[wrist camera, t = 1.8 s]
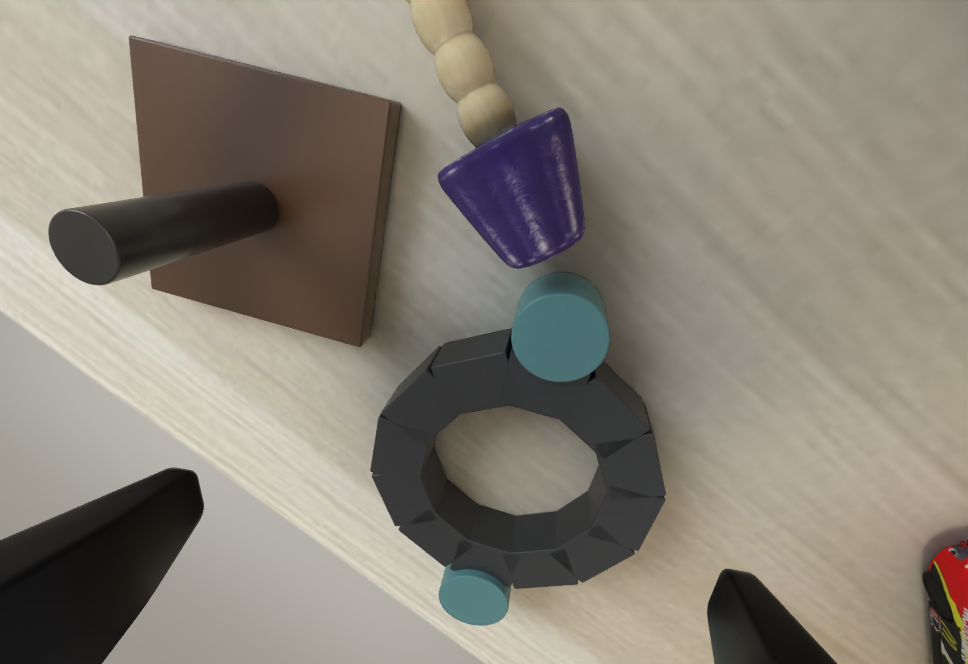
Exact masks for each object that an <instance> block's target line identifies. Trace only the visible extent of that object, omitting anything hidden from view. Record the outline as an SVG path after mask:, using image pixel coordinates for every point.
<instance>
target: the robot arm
mask: <svg viewBox="0 0 968 664" xmlns="http://www.w3.org/2000/svg"><path fill="white" fill-rule="evenodd" d="M203 510H204V502H203V498H202V493H201V489H200V485H199V480H198V476H197V474H196V473H195V472H194V471H191V470H186V469H181V468H168V469H165V470H163V471H161V472H159V473H156V474H154V475H151V476H149V477H147V478H144V479H142V480H140V481H138V482H135V483H133V484H131V485H128V486H126V487H123V488H121V489H119V490H116V491H114V492H112V493H109V494H107V495H105V496H102V497H100V498H98V499H95V500H93V501H91V502H88V503H86V504H84V505H81V506H79V507H77V508H74V509H72V510H70V511H68V512H65V513H63V514H60V515H58V516H56V517H54V518H51V519H49V520H46V521H44V522H42V523H40V524H37V525H35V526H33V527H30V528H28V529H26V530H23V531H21V532H18V533H16V534H14V535H11V536H9V537H7V538H4V539H2V540H0V664H102V663H103V661H104V660H105V659H106V657H107V656H108V655H109V653H110V652H111V651H112V649H113V648H114V647H115V645H116V644H117V643H118V641H119V640H120V639H121V638H122V636H123V635H124V634H125V632H126V631H127V629H128V628H129V627H130V626H131V624H132V623H133V622H134V620H135V619H136V618H137V616H138V615H139V613H140V612H141V611H142V609H143V608H144V607H145V605H146V604H147V602H148V601H149V599H150V597H151V596H152V595H153V593H154V592H155V590H156V589H157V587H158V586H159V584H160V582H161V581H162V579H163V578H164V576H165V575H166V573H167V571H168V570H169V568H170V566H171V565H172V563H173V562H174V560H175V559H176V557H177V556H178V554H179V552H180V551H181V549H182V547H183V546H184V544H185V543H186V541H187V540H188V538H189V536H190V535H191V533H192V532H193V530H194V528H195V527H196V525H197V524H198V522H199V521H200V519H201V516H202V514H203ZM707 617H708V624H709V631H710V637H711V644H712V650H713V657H714V663H715V664H837V663H836V662H835V661H834V660H833V659H832V657H831V656H830V655H829V654H828V653H827V652H826V651H825V650H824V649H823V648H822V647H821V646H820V645H819V644H818V642H817V641H816V640H815V639H814V638H813V637H812V636H811V635H810V634H809V633H808V632H807V631H806V630H805V629H804V627H803V626H802V625H801V624H800V623H799V622H798V621H797V620H796V619H795V618H794V617H793V616H792V615H791V614H790V612H789V611H788V610H787V609H786V608H785V607H784V606H783V605H782V604H781V603H780V602H779V601H778V600H777V599H776V597H775V596H774V595H773V594H772V593H771V592H770V591H769V590H768V589H767V588H766V587H765V586H764V585H763V583H762V582H761V581H760V580H759V579H758V578H757V577H756V576H754V575H753V574H751V573H749V572H744V571H738V570H733V569H724V570H723V571H722V572H721V573H720V575H719V578H718V580H717V583H716V585H715V588H714V590H713V592H712V595H711V597H710V600H709V603H708V609H707Z"/></svg>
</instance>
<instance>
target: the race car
mask: <svg viewBox="0 0 968 664" xmlns="http://www.w3.org/2000/svg"><path fill="white" fill-rule="evenodd" d="M928 570H929V571H927V572H924V573H923V582H924V585H925V588H926V590H927V592H928V595H929V597H930V598H931V600H932V601H930V602H929V609H930V621H931V634H932V647H933V659H934V664H968V540H967V543H966V542H965V541H963V540H962V541H960V544H959V545H957V546H956V545H953V546H950V547H947V548H945V549H943V550H942V551H941V552H939V553H938V554H937V555H936V556H935V557H934V559H933V560H932V561H931V564H930V566H929V568H928Z"/></svg>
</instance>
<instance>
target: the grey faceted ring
mask: <svg viewBox="0 0 968 664" xmlns="http://www.w3.org/2000/svg"><path fill="white" fill-rule="evenodd" d="M609 344H610V331H609V326H608V321H607V317H606V313H605V308H604V304H603V301H602V298H601V296H600V294H599V292H598V291H597V289H596V288H595V287H594V286H593V285H592V284H591V283H590V282H589V281H587V280H586V279H584V278H582V277H580V276H578V275H575V274H571V273H564V272H558V273H551V274H547V275H544V276H542V277H540V278H538V279H537V280H535V281H534V282H532V283H531V284H530V285H529V286H528V287H527V288H526V290H525V291H524V292H523V294H522V296H521V298H520V301H519V305H518V308H517V312H516V316H515V320H514V323H513V328H512V329H507V330H502V331H498V332H493V333H489V334H484V335H480V336H475V337H471V338H466V339H462V340H457V341H453V342H448V343H445V344H444V345H443V347H441V346H439V347H438V348H437V349H436V350H435V351H434V352H433V353H432V354H431V355H430V356H429V357H428V358H427V359H426V360H425V361H424V362H423V363H421V364H420V365H419V366H418V367H417V368H416V369H415V370H414V371H413V372H412V373H411V374H410V375H409V376H408V377H407V378H406V379H405V380H404V381H403V382H402V383H401V384H400V385H399V386H398V387H397V389H396V391H395V392H394V394H393V395H392V397H391V398H390V400H389V401H388V403H387V404H386V406H385V407H384V409H383V410H382V412H381V414H380V416H379V418H378V424H377V431H376V437H375V444H374V450H373V457H372V463H371V470H370V471H371V472H373V474H372V478H373V480H374V482H375V484H376V487H377V489H378V491H379V493H380V495H381V497H382V499H383V501H384V503H385V506H386V508H387V510H388V512H389V514H390V516H391V518H392V520H393V522H394V525H395V526H400V527H399V531H400V532H402V533H403V534H404V535H405V536H407V537H408V538H409V539H410V540H412V541H413V542H414V543H415V544H417V545H418V546H419V547H420V548H422V549H423V550H424V551H426V552H427V553H428V554H429V555H431V556H432V557H433V558H434V559H436V560H437V561H438V562H439V563H441V564H442V565H443V566H445V567H446V568H445V571H444V575H443V579H442V582H441V586H440V590H439V600H440V603H441V605H442V607H443V608H444V610H445V611H446V612H447V613H448V614H450V615H451V616H452V617H454V618H455V619H457V620H459V621H461V622H464V623H467V624H471V625H479V626H483V625H490V624H494V623H496V622H498V621H500V620H501V619H503V618H504V616H505V615H506V613H507V611H508V607H509V598H510V590H511V584H512V583H513V585H514V588H515V589H520V588H534V587H548V586H562V585H577V584H578V580H579V581H581V582H582V583H583V582H585V581H587V580H589V579H590V578H592V577H594V576H596V575H598V574H599V573H601V572H603V571H605V570H607V569H609V568H610V567H612V566H614V565H616V564H618V563H619V562H621V561H623V560H625V559H627V558H629V557H630V556H632V555H634V554H635V552H634V550H636V551H639V549H640V547H641V545H642V543H643V541H644V539H645V537H646V535H647V534H648V532H649V530H650V528H651V526H652V524H653V522H654V520H655V519H656V517H657V515H658V513H659V511H660V509H661V507H662V505H663V503H664V502H665V498H664V496H665V495H666V492H665V487H664V482H663V477H662V472H661V468H660V463H659V458H658V453H657V448H656V443H655V438H654V433H653V430H652V427H651V423H650V420H649V417H648V413H647V410H646V406H645V404H644V403H643V402H642V398H641V397H640V396H639V395H638V394H637V393H636V392H635V391H634V390H633V389H632V388H631V387H630V386H629V385H628V384H627V383H625V382H624V381H623V380H622V379H621V378H620V377H619V376H618V375H617V374H616V373H615V372H614V371H613V370H612V369H611V368H610V367H609V366H608V365H607V364H606V363H605V362H604V361H603V360H604V358H605V356H606V354H607V352H608V349H609ZM508 405H510V406H514V407H517V408H521V409H525V410H528V411H532V412H535V413H539V414H542V415H546V416H549V417H553V418H556V419H560V420H561V421H562V422H563V423H564V424H565V425H566V426H568V427H569V428H570V429H571V430H572V431H573V432H574V433H575V434H576V435H577V436H578V437H580V438H581V439H582V440H583V441H584V442H585V443H586V444H587V445H588V446H589V447H590V448H592V449H593V450H594V451H595V452H596V455H597V459H598V463H599V467H598V469H597V472H596V474H595V476H594V479H593V481H592V483H591V486H590V488H589V490H588V492H586V493H585V494H583V495H582V496H580V497H579V498H577V499H575V500H574V501H572V502H571V503H569V504H568V505H566V506H565V507H563V508H562V509H560V510H559V511H557V512H549V513H540V514H531V515H522V516H513V515H510V514H507V513H503V512H500V511H496V510H493V509H490V508H486V507H483V506H480V505H477V504H475V503H474V502H473V501H472V500H471V499H469V498H468V497H467V496H466V495H465V494H464V493H462V492H461V491H460V490H459V489H458V488H456V487H455V486H454V485H453V484H452V483H450V482H449V481H448V480H447V479H446V476H445V474H444V471H443V469H442V466H441V464H440V461H439V459H438V456H437V454H436V451H435V449H434V443H435V439H436V435H437V433H439V432H440V431H441V430H442V429H443V428H444V427H446V426H447V425H448V424H449V423H450V422H451V421H453V420H454V419H455V418H456V417H457V416H458V415H460V414H463V413H468V412H474V411H480V410H485V409H491V408H497V407H502V406H508Z"/></svg>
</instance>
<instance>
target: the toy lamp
mask: <svg viewBox="0 0 968 664" xmlns="http://www.w3.org/2000/svg"><path fill="white" fill-rule="evenodd" d="M406 1H407V2H408V3H409V4H410V8H411V17H412V21H413V24H414V27H415V30H416V32H417V34H418V36H419V38H420V39H421V41H422V43H423V44H424V46H425V47H426V48H427V49H428V50H429V51H430V52H431V53H432V54H433V55H434V56H435V67H436V72H437V75H438V78H439V81H440V83H441V85H442V87H443V89H444V90H445V92H446V93H447V95H448V96H449V97H450V98H451V99H452V100H454V101H455V102H456V103H457V107H458V118H459V122H460V125H461V128H462V130H463V132H464V134H465V136H466V137H467V138H468V140H469V141H470V142H471V143H472V144H473V145H474V146H475V147H476V149H474V150H472V151H471V152H469V153H467V154H465V155H464V156H462V157H460V158H459V159H457V160H456V161H454V162H453V163H451V164H450V165H448V166H447V167H445V168H444V169H443V170H441V171H440V172H439V174H438V180H439V183H440V185H441V187H442V189H443V190H444V192H445V193H446V194H447V195H448V197H449V198H450V199H451V200H452V202H453V203H454V204H455V205H456V207H457V208H458V209H459V210H460V211H461V213H462V214H463V215H464V216H465V217H466V219H467V220H468V221H469V222H470V223H471V225H472V226H473V227H474V228H475V229H476V230H477V232H478V233H479V234H480V235H481V236H482V238H483V239H484V240H485V241H486V242H487V243H488V245H489V246H490V247H491V248H492V249H493V250H494V251H495V253H496V254H497V255H498V256H499V257H500V258H501V259H502V260H503V261H504V262H505V263H506V264H507V265H508V266H510V267H512V268H517V269H519V268H525V267H529V266H532V265H535V264H538V263H540V262H543V261H545V260H548V259H550V258H552V257H554V256H555V255H557V254H559V253H561V252H563V251H565V250H566V249H568V248H570V247H571V246H573V245H574V244H575V243H576V242H577V241H579V240H580V239H581V237H582V236H583V233H584V229H585V218H584V211H583V204H582V197H581V188H580V180H579V174H578V167H577V161H576V153H575V147H574V140H573V134H572V128H571V123H570V119H569V117H568V114H567V113H566V111H565V110H564V109H563V108H555V109H552V110H549V111H547V112H545V113H543V114H540V115H538V116H537V117H534V118H532V119H530V120H527V121H525V122H524V123H521V124H520V125H518V126H517V125H516V119H515V113H514V109H513V106H512V104H511V102H510V100H509V98H508V96H507V95H506V93H505V92H504V91H503V90H502V88H500V87H499V86H498V85H497V84H496V83H495V73H494V66H493V63H492V59H491V57H490V54H489V52H488V50H487V49H486V47H485V45H484V44H483V43H482V41H481V40H480V39H479V38H478V37H477V36H476V35H475V34H474V33H473V23H472V17H471V13H470V10H469V7H468V5H467V2H466V0H406Z"/></svg>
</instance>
